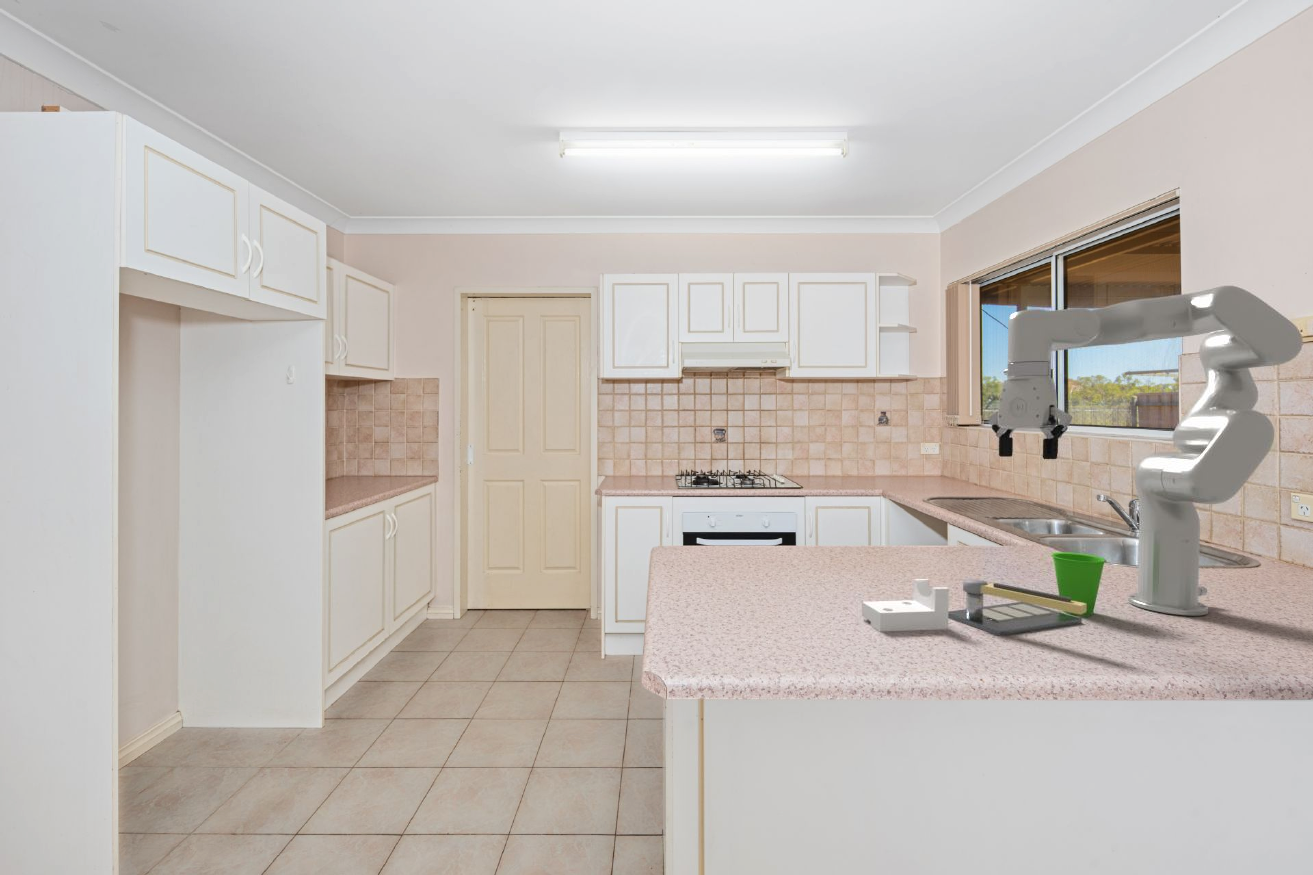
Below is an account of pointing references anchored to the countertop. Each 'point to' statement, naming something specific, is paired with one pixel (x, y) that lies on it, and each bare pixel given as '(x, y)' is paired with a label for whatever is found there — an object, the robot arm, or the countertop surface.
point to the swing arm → (1024, 595)
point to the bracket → (911, 610)
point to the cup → (1078, 577)
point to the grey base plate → (1009, 616)
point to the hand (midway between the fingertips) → (1027, 457)
